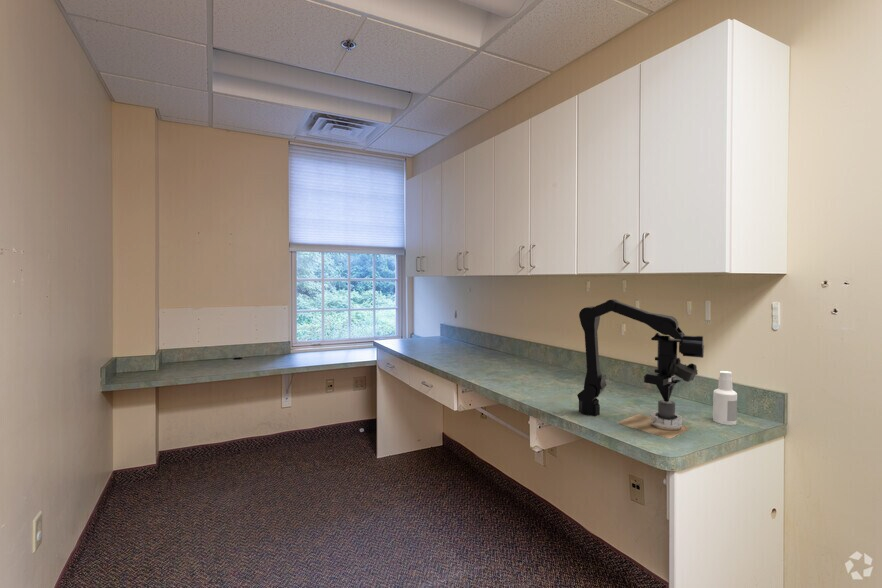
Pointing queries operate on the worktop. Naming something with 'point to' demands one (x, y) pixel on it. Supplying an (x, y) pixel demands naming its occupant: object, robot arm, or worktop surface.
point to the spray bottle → (725, 400)
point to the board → (649, 426)
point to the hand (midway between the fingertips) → (666, 401)
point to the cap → (666, 409)
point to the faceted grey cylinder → (666, 422)
